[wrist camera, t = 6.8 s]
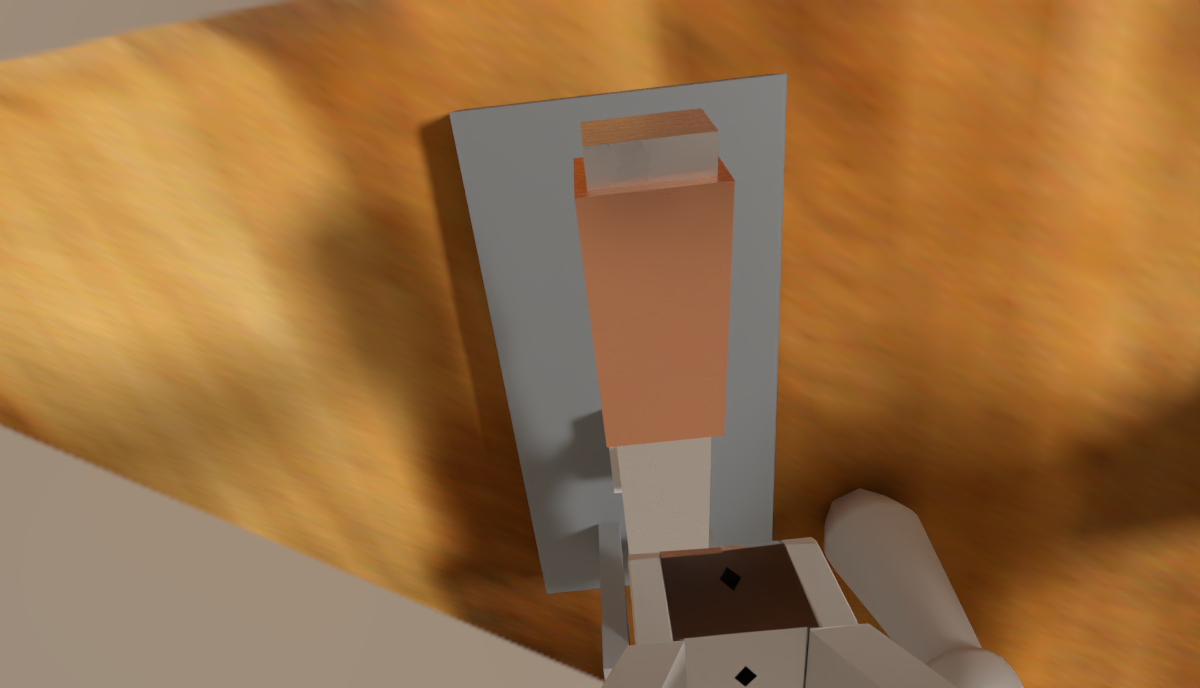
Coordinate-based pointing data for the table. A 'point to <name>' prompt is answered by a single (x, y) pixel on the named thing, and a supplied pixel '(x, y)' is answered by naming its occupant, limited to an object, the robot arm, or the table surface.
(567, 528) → the base
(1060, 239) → the table surface
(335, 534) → the table surface
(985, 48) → the table surface
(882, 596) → the salt shaker
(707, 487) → the lever
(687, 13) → the table surface
